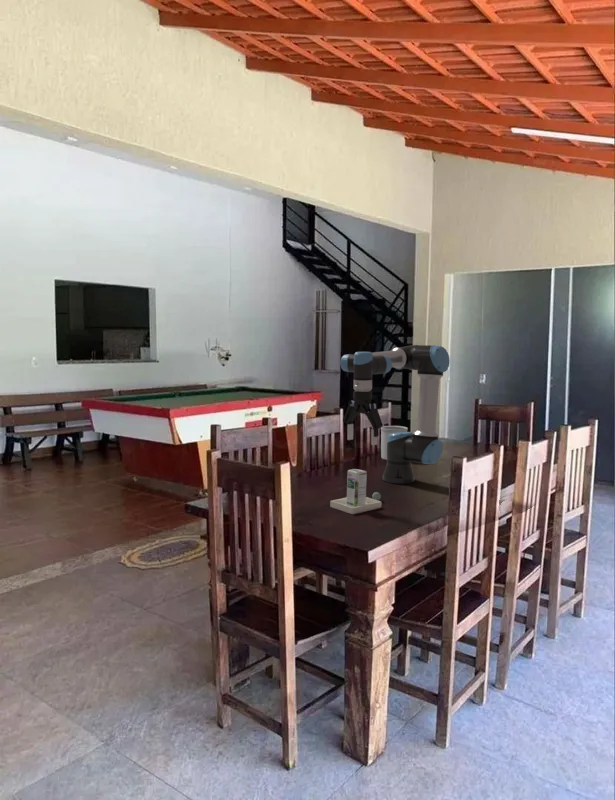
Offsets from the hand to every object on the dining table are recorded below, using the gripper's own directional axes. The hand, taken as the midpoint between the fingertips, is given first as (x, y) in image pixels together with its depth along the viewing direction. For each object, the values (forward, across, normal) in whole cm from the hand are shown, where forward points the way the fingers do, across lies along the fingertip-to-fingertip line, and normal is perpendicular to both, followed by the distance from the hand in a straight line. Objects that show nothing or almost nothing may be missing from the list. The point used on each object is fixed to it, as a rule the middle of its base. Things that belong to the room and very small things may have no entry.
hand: (362, 442), depth 255 cm
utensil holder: (+28, -54, +81) cm, 101 cm away
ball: (+24, +1, +8) cm, 25 cm away
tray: (+26, +3, -6) cm, 26 cm away
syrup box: (+25, +3, -6) cm, 26 cm away
